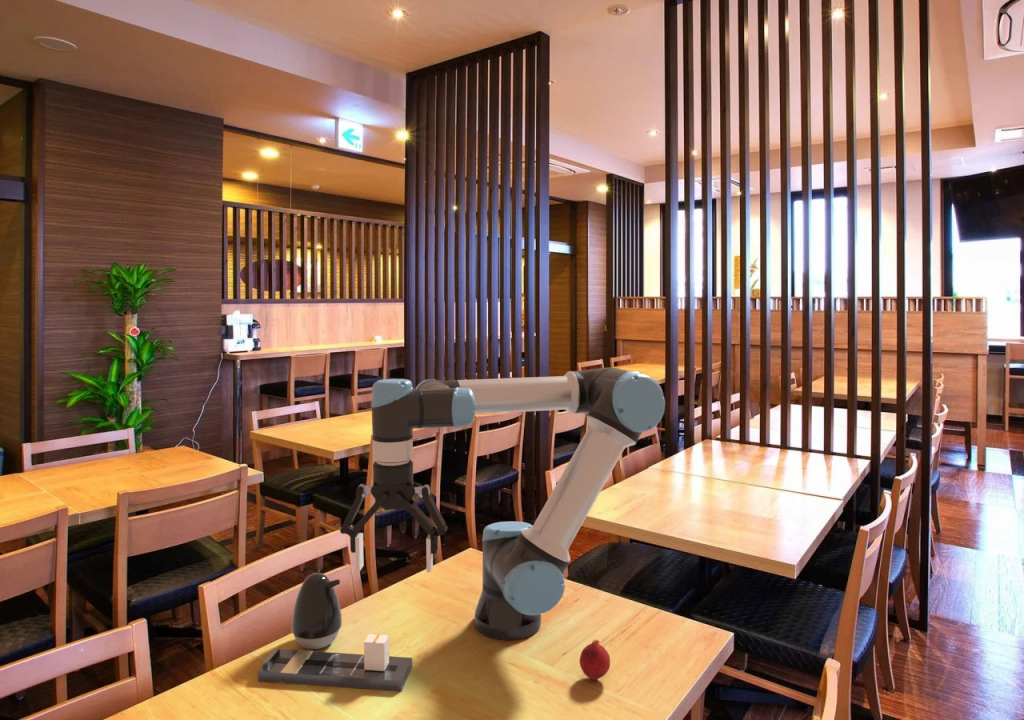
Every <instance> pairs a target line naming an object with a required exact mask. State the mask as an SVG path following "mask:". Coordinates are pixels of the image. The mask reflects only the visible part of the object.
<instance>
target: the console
mask: <svg viewBox="0 0 1024 720" xmlns="http://www.w3.org/2000/svg"><path fill="white" fill-rule="evenodd" d="M412 669H413V657H407V656H406V657H405V656H390V655H389V664H388V665H387V667H386V669H385V671H376V670H364V654H362V653H361V654H360V653H359V654H358V653H345V652H344V653H342V652H331V651H330V652H329V651H328V652H327V651H326V652H325V651H313V650H310V649H307V650H305V649H298V650H297V649H285V648H284V649H283V648H280V647H279V648H277V647H274V648H273V649H272V651H271V652H270V653H269V654H268V655H267V656H266V657H265V658H264V660H263V661H262V666H261V667H260V668H259V669H258V671H257V681H258V682H265V681H266V683H277V682H285V683H284V684H291V683H293V684H294V683H295V684H294V685H305V686H306V685H308V686H319V687H320V686H322V687H335V688H351V689H363V690H375V691H377V690H380V691H389V692H390V691H391V692H403V689H404V687H405V685H406V683H407V681H408V677H409V676H410V673H411V672H412Z"/></svg>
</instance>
